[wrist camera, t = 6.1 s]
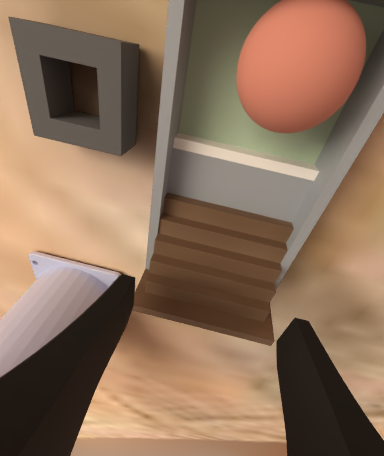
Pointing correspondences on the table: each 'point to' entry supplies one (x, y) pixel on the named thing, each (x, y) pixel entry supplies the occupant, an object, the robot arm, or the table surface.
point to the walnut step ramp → (214, 268)
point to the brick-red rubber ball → (300, 63)
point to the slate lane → (251, 123)
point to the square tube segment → (62, 88)
